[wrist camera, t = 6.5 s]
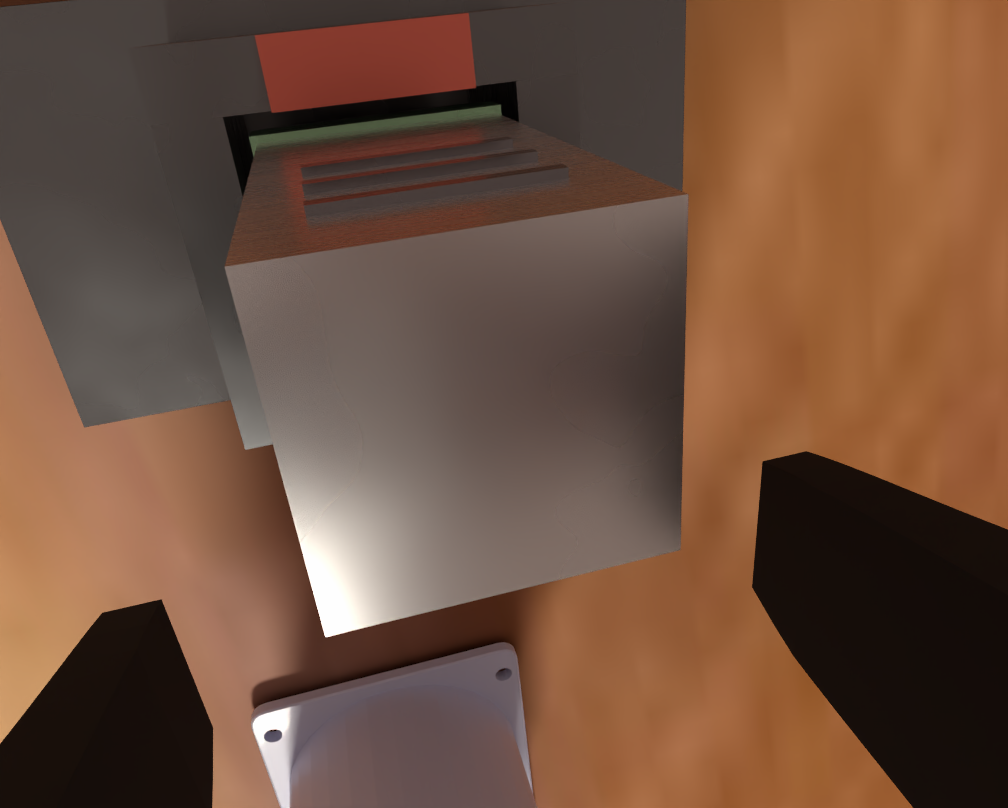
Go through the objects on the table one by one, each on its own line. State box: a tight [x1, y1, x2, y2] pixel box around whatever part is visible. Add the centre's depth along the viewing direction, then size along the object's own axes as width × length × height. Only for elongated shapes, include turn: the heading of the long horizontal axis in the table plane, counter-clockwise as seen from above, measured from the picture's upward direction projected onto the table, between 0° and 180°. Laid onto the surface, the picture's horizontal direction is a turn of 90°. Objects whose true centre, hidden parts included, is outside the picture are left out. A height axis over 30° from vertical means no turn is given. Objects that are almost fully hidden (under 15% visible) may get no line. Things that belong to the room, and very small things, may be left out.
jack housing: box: [0, 0, 686, 450], centre depth 14 cm, size 8×14×5 cm, turn 95°
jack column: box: [224, 101, 688, 637], centre depth 10 cm, size 4×4×8 cm
